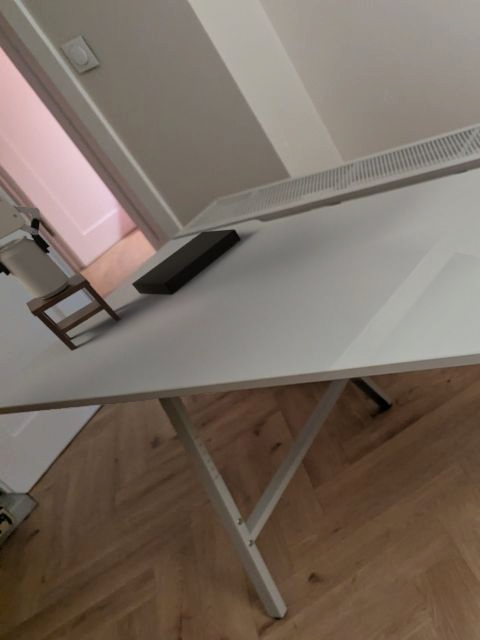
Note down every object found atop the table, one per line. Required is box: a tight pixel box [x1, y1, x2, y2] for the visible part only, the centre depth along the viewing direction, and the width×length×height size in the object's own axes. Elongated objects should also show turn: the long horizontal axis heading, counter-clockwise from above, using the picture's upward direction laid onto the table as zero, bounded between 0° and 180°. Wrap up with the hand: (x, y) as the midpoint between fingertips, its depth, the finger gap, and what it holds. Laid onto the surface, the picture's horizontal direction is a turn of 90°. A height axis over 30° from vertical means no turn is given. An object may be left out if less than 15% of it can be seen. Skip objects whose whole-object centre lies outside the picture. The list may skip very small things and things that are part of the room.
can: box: [0, 235, 70, 299], centre depth 112 cm, size 8×8×12 cm
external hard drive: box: [131, 228, 242, 296], centre depth 133 cm, size 14×23×3 cm, turn 153°
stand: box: [25, 272, 122, 351], centre depth 119 cm, size 12×9×11 cm
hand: (28, 262), depth 112 cm, fingers closed on can, 7 cm apart
